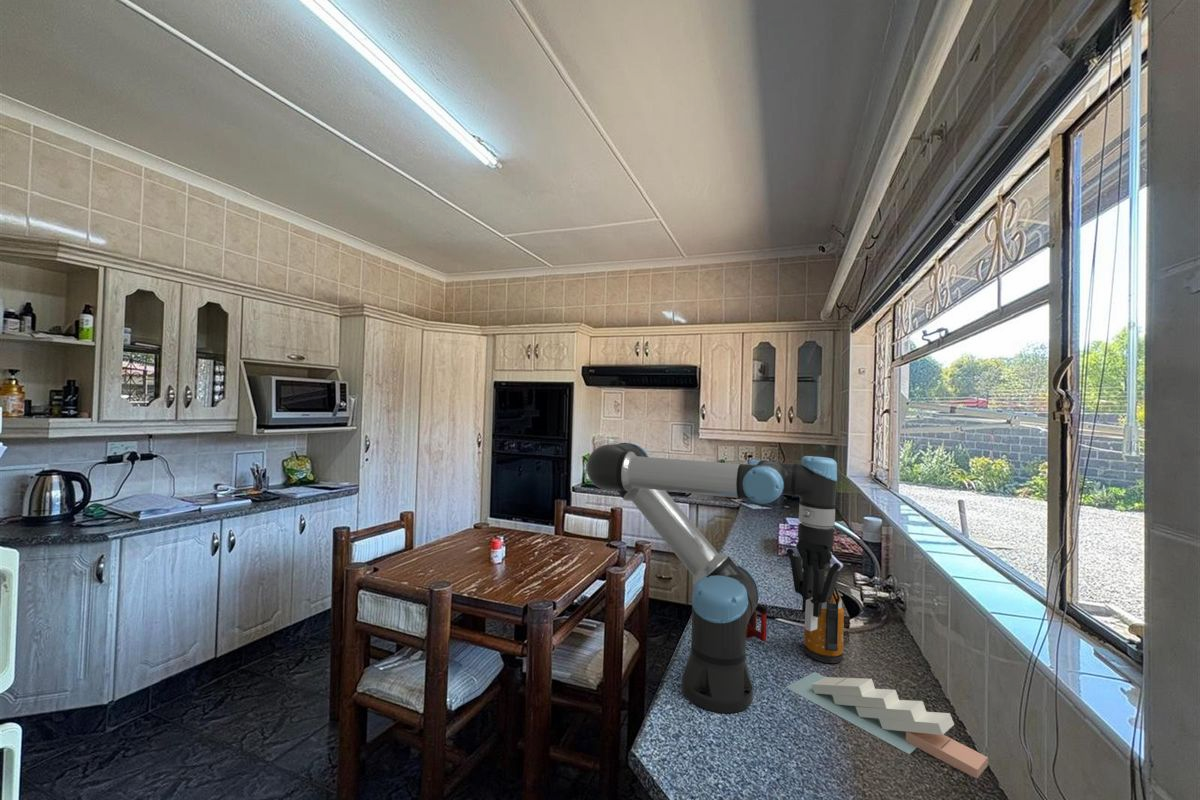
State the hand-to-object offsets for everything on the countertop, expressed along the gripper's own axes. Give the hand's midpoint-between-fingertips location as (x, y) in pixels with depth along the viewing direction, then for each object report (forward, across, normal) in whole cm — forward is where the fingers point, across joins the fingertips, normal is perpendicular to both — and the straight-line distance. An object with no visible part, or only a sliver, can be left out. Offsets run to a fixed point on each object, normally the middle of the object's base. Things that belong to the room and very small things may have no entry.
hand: (810, 628), depth 109 cm
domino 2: (+12, +7, +1) cm, 14 cm away
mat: (+13, +10, +1) cm, 16 cm away
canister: (+13, -5, +15) cm, 21 cm away
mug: (+14, -25, +10) cm, 30 cm away
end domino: (+11, +21, +1) cm, 24 cm away
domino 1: (+12, +2, 0) cm, 12 cm away
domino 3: (+12, +12, +1) cm, 17 cm away
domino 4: (+11, +16, +1) cm, 20 cm away
